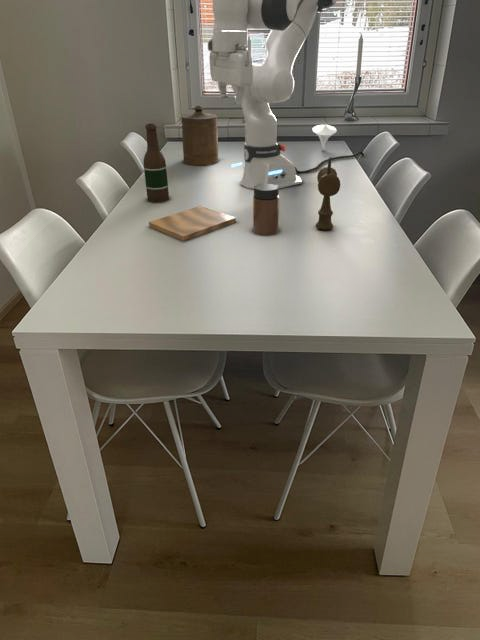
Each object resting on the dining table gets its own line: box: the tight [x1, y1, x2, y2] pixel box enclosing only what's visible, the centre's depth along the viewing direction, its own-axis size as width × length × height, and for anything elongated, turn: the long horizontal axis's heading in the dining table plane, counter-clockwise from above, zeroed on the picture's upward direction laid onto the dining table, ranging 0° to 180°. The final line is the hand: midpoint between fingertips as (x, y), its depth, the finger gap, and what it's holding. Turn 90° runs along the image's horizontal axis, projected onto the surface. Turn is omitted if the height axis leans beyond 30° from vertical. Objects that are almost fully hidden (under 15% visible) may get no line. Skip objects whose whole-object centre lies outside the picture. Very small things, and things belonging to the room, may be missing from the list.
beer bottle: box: [143, 123, 170, 204], centre depth 160 cm, size 8×8×24 cm
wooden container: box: [181, 105, 219, 166], centre depth 204 cm, size 15×15×22 cm
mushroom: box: [311, 123, 338, 152], centre depth 220 cm, size 10×11×12 cm
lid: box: [253, 184, 280, 199], centre depth 134 cm, size 7×7×2 cm
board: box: [148, 205, 237, 242], centre depth 145 cm, size 20×16×2 cm
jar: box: [252, 194, 280, 236], centre depth 137 cm, size 7×7×12 cm
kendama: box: [315, 157, 341, 231], centre depth 136 cm, size 6×10×20 cm, turn 175°
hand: (231, 102), depth 133 cm, fingers open, 8 cm apart
